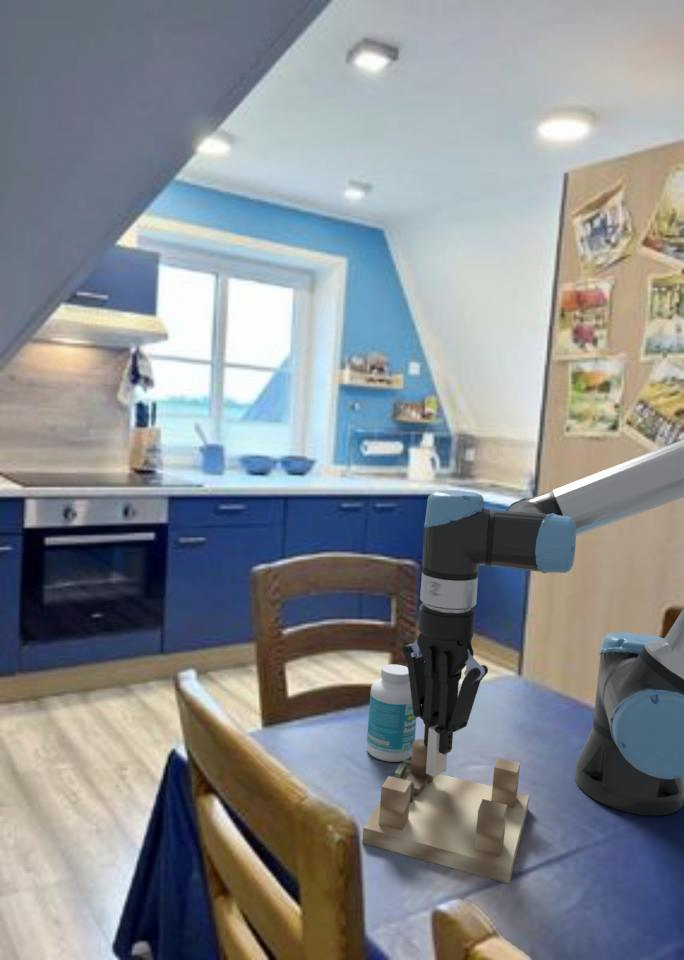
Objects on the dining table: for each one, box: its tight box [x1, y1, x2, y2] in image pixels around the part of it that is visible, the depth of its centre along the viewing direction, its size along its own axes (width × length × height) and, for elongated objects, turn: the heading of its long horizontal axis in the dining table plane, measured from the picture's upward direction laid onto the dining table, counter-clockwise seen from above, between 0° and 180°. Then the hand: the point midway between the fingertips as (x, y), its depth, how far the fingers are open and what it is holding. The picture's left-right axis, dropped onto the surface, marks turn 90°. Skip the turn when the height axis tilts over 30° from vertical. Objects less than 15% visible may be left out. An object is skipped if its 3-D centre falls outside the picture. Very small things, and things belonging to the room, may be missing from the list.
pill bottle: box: [366, 663, 418, 763], centre depth 118 cm, size 8×7×14 cm
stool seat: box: [361, 757, 530, 885], centre depth 99 cm, size 18×18×7 cm
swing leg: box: [406, 738, 433, 795], centre depth 105 cm, size 6×3×5 cm, turn 155°
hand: (435, 772), depth 105 cm, fingers closed
